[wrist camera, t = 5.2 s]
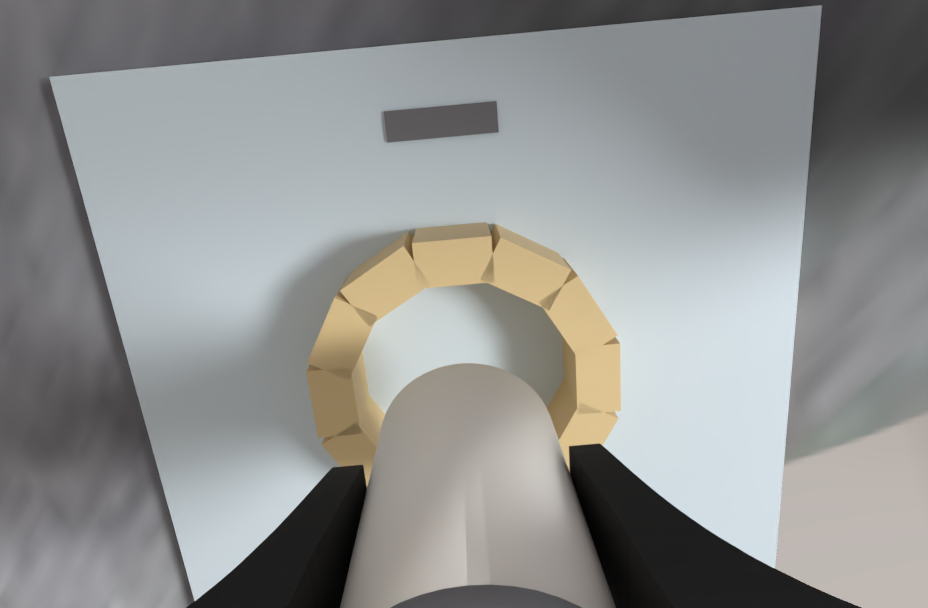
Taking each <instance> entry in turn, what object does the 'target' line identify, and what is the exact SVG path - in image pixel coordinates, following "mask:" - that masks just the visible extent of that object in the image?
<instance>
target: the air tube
mask: <svg viewBox="0 0 928 608" xmlns="http://www.w3.org/2000/svg"><path fill="white" fill-rule="evenodd" d="M340 608H616V606H615V603H614V600H613V597H612V595H611V592H610V589H609V586H608V583H607V580H606V577H605V574H604V571H603V568H602V565H601V562H600V560H599V557H598V554H597V551H596V548H595V545H594V542H593V539H592V536H591V533H590V530H589V527H588V524H587V522H586V519H585V516H584V513H583V510H582V507H581V504H580V501H579V498H578V495H577V492H576V489H575V486H574V484H573V481H572V478H571V475H570V472H569V469H568V466H567V463H566V460H565V457H564V454H563V451H562V449H561V446H560V443H559V440H558V437H557V434H556V431H555V428H554V425H553V422H552V419H551V416H550V414H549V412H548V410H547V407H546V406H545V404H544V403H543V401H542V399H541V398H540V397H539V395H538V394H537V393H536V392H535V391H534V390H533V389H532V388H531V387H530V386H529V385H528V384H527V383H526V382H524V381H523V380H521V379H520V378H518V377H517V376H515V375H513V374H511V373H509V372H507V371H505V370H502V369H500V368H497V367H494V366H489V365H484V364H475V363H459V364H453V365H447V366H443V367H440V368H436V369H434V370H431V371H429V372H427V373H424V374H423V375H421V376H419V377H417V378H416V379H414V380H413V381H412V382H410V383H409V384H408V385H406V386H405V387H404V388H403V389H402V390H401V391H400V392H399V393H398V395H397V396H396V397H395V399H394V400H393V401H392V402H391V404H390V406H389V408H388V410H387V411H386V414H385V416H384V419H383V421H382V426H381V430H380V434H379V439H378V443H377V448H376V452H375V456H374V461H373V465H372V469H371V474H370V478H369V483H368V487H367V491H366V496H365V500H364V504H363V509H362V513H361V518H360V522H359V526H358V531H357V535H356V539H355V544H354V548H353V553H352V557H351V561H350V566H349V570H348V574H347V579H346V583H345V588H344V592H343V596H342V601H341V605H340Z"/></svg>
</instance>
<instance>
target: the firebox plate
mask: <svg viewBox="0 0 928 608" xmlns="http://www.w3.org/2000/svg"><path fill="white" fill-rule="evenodd" d="M821 11H822V5H819V6H808V7H797V8H786V9H776V10H765V11H754V12H743V13H733V14H722V15H711V16H700V17H689V18H679V19H668V20H657V21H646V22H636V23H625V24H614V25H603V26H593V27H582V28H571V29H560V30H549V31H539V32H528V33H517V34H506V35H496V36H485V37H474V38H463V39H453V40H442V41H431V42H420V43H409V44H399V45H388V46H377V47H366V48H356V49H345V50H334V51H323V52H313V53H302V54H291V55H280V56H269V57H259V58H248V59H237V60H226V61H216V62H205V63H194V64H183V65H172V66H162V67H151V68H140V69H129V70H119V71H108V72H97V73H86V74H76V75H65V76H54V77H49V78H50V82H51V85H52V89H53V93H54V96H55V100H56V103H57V107H58V111H59V114H60V118H61V121H62V125H63V129H64V132H65V136H66V139H67V143H68V147H69V150H70V154H71V157H72V161H73V165H74V168H75V172H76V175H77V179H78V183H79V186H80V190H81V193H82V197H83V201H84V204H85V208H86V212H87V215H88V219H89V222H90V226H91V230H92V233H93V237H94V240H95V244H96V248H97V251H98V255H99V258H100V262H101V266H102V269H103V273H104V276H105V280H106V284H107V287H108V291H109V294H110V298H111V302H112V305H113V309H114V312H115V316H116V320H117V323H118V327H119V330H120V334H121V338H122V341H123V345H124V348H125V352H126V356H127V359H128V363H129V367H130V370H131V374H132V377H133V381H134V385H135V388H136V392H137V395H138V399H139V403H140V406H141V410H142V413H143V417H144V421H145V424H146V428H147V431H148V435H149V439H150V442H151V446H152V449H153V453H154V457H155V460H156V464H157V467H158V471H159V475H160V478H161V482H162V485H163V489H164V493H165V496H166V500H167V503H168V507H169V511H170V514H171V518H172V522H173V525H174V529H175V532H176V536H177V540H178V543H179V547H180V550H181V554H182V558H183V561H184V565H185V568H186V572H187V576H188V579H189V583H190V586H191V590H192V594H193V597H194V601H196V600H197V599H198V598H200V597H201V596H202V595H203V594H205V593H206V592H207V591H208V590H209V589H211V588H212V587H213V586H214V585H216V584H217V583H218V582H219V581H221V580H222V579H223V578H224V577H225V576H226V575H228V574H229V573H230V572H231V571H232V570H233V569H234V568H236V567H237V566H238V565H239V564H240V563H241V562H242V561H243V560H244V559H245V558H246V557H247V556H248V555H249V554H251V553H252V552H253V551H254V550H255V549H256V548H257V547H258V546H259V545H260V544H261V543H262V542H263V541H264V540H265V539H266V538H267V537H268V536H269V535H270V534H271V533H272V532H273V531H274V530H275V529H276V528H277V527H278V526H279V525H280V524H281V523H282V522H283V521H284V520H285V519H286V518H287V517H288V516H289V514H290V513H291V512H292V511H293V510H294V509H295V508H296V507H297V506H298V505H299V504H300V502H301V501H302V500H303V499H304V498H305V497H306V496H307V495H308V494H309V492H310V491H311V490H312V489H313V488H314V487H315V486H316V485H317V484H318V482H319V481H320V480H321V479H322V478H323V477H324V476H325V475H326V474H327V473H328V471H329V470H330V469H331V468H332V467H342V466H353V465H363V467H364V473H365V479H366V486H367V487H368V483H369V478H370V474H371V469H372V465H373V461H374V456H375V452H376V448H377V443H378V439H379V434H380V430H381V426H382V421H383V419H384V416H385V414H386V411H387V410H388V408H389V406H390V404H391V402H392V401H393V400H394V399H395V397H396V396H397V395H398V393H399V392H400V391H401V390H402V389H403V388H404V387H405V386H406V385H408V384H409V383H410V382H412V381H413V380H414V379H416V378H417V377H419V376H421V375H423V374H424V373H427V372H429V371H431V370H434V369H436V368H440V367H443V366H447V365H453V364H459V363H475V364H484V365H489V366H494V367H497V368H500V369H502V370H505V371H507V372H509V373H511V374H513V375H515V376H517V377H518V378H520V379H521V380H523V381H524V382H526V383H527V384H528V385H529V386H530V387H531V388H532V389H533V390H534V391H535V392H536V393H537V394H538V395H539V397H540V398H541V399H542V401H543V403H544V404H545V406H546V407H547V410H548V412H549V414H550V416H551V419H552V422H553V425H554V428H555V431H556V434H557V437H558V440H559V443H560V446H561V449H562V451H563V454H564V457H565V460H566V463H567V466H568V469H569V472H570V463H569V446H576V445H588V444H599V443H600V444H601V445H602V446H603V447H605V448H606V449H607V450H608V451H609V452H610V453H612V454H613V455H614V456H615V457H616V458H617V459H618V460H619V461H620V462H622V463H623V464H624V465H625V466H626V467H627V468H628V469H630V470H631V471H632V472H633V473H634V474H635V475H636V476H638V477H639V478H640V479H641V480H642V481H643V482H645V483H646V484H647V485H648V486H649V487H651V488H652V489H653V490H654V491H655V492H657V493H658V494H659V495H660V496H662V497H663V498H664V499H665V500H667V501H668V502H669V503H671V504H672V505H673V506H675V507H676V508H677V509H679V510H680V511H681V512H683V513H684V514H686V515H687V516H689V517H690V518H691V519H693V520H694V521H696V522H697V523H698V524H700V525H701V526H703V527H704V528H706V529H707V530H709V531H710V532H712V533H713V534H715V535H717V536H718V537H720V538H721V539H723V540H725V541H726V542H728V543H730V544H731V545H733V546H735V547H737V548H738V549H740V550H742V551H743V552H745V553H747V554H748V555H750V556H752V557H754V558H755V559H757V560H759V561H761V562H763V563H765V564H767V565H768V566H770V567H772V568H774V569H775V562H776V550H777V539H778V527H779V515H780V503H781V502H780V501H781V491H782V478H783V467H784V455H785V443H786V431H787V419H788V407H789V395H790V383H791V371H792V359H793V347H794V335H795V323H796V311H797V299H798V287H799V275H800V263H801V251H802V239H803V227H804V215H805V203H806V191H807V179H808V167H809V155H810V143H811V131H812V119H813V107H814V95H815V83H816V71H817V59H818V47H819V35H820V23H821Z"/></svg>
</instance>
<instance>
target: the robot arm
mask: <svg viewBox="0 0 928 608" xmlns="http://www.w3.org/2000/svg"><path fill="white" fill-rule="evenodd" d="M569 463H570V475H571V478H572V481H573V484H574V486H575V489H576V492H577V495H578V498H579V501H580V504H581V507H582V510H583V513H584V516H585V519H586V522H587V524H588V527H589V530H590V533H591V536H592V539H593V542H594V545H595V548H596V551H597V554H598V557H599V560H600V562H601V565H602V568H603V571H604V574H605V577H606V580H607V583H608V586H609V589H610V592H611V595H612V597H613V600H614V603H615V606H616V608H861V607H858V606H855V605H853V604H851V603H848V602H846V601H843V600H841V599H838V598H836V597H834V596H831V595H829V594H827V593H825V592H822V591H820V590H818V589H816V588H813V587H811V586H809V585H807V584H805V583H803V582H801V581H798V580H797V579H794V578H793V577H791V576H788V575H787V574H785V573H782V572H780V571H778V570H776V569H774V568H772V567H770V566H768V565H767V564H765V563H763V562H761V561H759V560H757V559H755V558H754V557H752V556H750V555H748V554H747V553H745V552H743V551H742V550H740V549H738V548H737V547H735V546H733V545H731V544H730V543H728V542H726V541H725V540H723V539H721V538H720V537H718V536H717V535H715V534H713V533H712V532H710V531H709V530H707V529H706V528H704V527H703V526H701V525H700V524H698V523H697V522H696V521H694V520H693V519H691V518H690V517H689V516H687V515H686V514H684V513H683V512H681V511H680V510H679V509H677V508H676V507H675V506H673V505H672V504H671V503H669V502H668V501H667V500H665V499H664V498H663V497H662V496H660V495H659V494H658V493H657V492H655V491H654V490H653V489H652V488H651V487H649V486H648V485H647V484H646V483H645V482H643V481H642V480H641V479H640V478H639V477H638V476H636V475H635V474H634V473H633V472H632V471H631V470H630V469H628V468H627V467H626V466H625V465H624V464H623V463H622V462H620V461H619V460H618V459H617V458H616V457H615V456H614V455H613V454H612V453H610V452H609V451H608V450H607V449H606V448H605V447H603V446H602V445H601V444H600V443H599V444H588V445H576V446H569ZM366 491H367V486H366V479H365V473H364V467H363V465H353V466H342V467H332V468H331V469H330V470H329V471H328V473H327V474H326V475H325V476H324V477H323V478H322V479H321V480H320V481H319V482H318V484H317V485H316V486H315V487H314V488H313V489H312V490H311V491H310V492H309V494H308V495H307V496H306V497H305V498H304V499H303V500H302V501H301V502H300V504H299V505H298V506H297V507H296V508H295V509H294V510H293V511H292V512H291V513H290V514H289V516H288V517H287V518H286V519H285V520H284V521H283V522H282V523H281V524H280V525H279V526H278V527H277V528H276V529H275V530H274V531H273V532H272V533H271V534H270V535H269V536H268V537H267V538H266V539H265V540H264V541H263V542H262V543H261V544H260V545H259V546H258V547H257V548H256V549H255V550H254V551H253V552H252V553H251V554H249V555H248V556H247V557H246V558H245V559H244V560H243V561H242V562H241V563H240V564H239V565H238V566H237V567H236V568H234V569H233V570H232V571H231V572H230V573H229V574H228V575H226V576H225V577H224V578H223V579H222V580H221V581H219V582H218V583H217V584H216V585H214V586H213V587H212V588H211V589H209V590H208V591H207V592H206V593H205V594H203V595H202V596H201V597H200V598H198V599H197V600H196V601H194V602H193V603H192V604H191V605H189V606H188V607H187V608H340V605H341V601H342V596H343V592H344V588H345V583H346V579H347V574H348V570H349V566H350V561H351V557H352V553H353V548H354V544H355V539H356V535H357V531H358V526H359V522H360V518H361V513H362V509H363V504H364V500H365V496H366Z"/></svg>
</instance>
